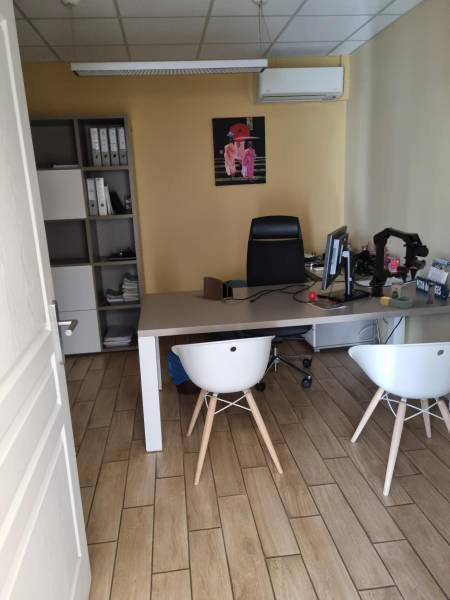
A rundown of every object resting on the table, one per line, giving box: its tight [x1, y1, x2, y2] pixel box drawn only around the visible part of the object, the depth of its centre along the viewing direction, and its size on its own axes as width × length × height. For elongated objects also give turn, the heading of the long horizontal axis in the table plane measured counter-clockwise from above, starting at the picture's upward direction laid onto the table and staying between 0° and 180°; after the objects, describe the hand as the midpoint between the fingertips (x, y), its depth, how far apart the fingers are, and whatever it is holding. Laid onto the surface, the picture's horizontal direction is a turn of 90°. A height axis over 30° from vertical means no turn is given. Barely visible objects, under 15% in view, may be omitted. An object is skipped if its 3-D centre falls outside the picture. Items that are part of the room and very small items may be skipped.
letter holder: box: [202, 276, 234, 302], centre depth 307 cm, size 10×20×14 cm, turn 39°
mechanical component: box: [391, 281, 410, 292], centre depth 289 cm, size 3×10×10 cm, turn 78°
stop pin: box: [426, 282, 437, 305], centre depth 274 cm, size 4×4×12 cm
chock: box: [380, 296, 392, 306], centre depth 276 cm, size 5×4×4 cm
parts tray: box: [390, 296, 415, 310], centre depth 271 cm, size 9×9×4 cm
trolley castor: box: [390, 284, 404, 299], centre depth 281 cm, size 5×6×10 cm
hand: (408, 281), depth 272 cm, fingers open, 9 cm apart
